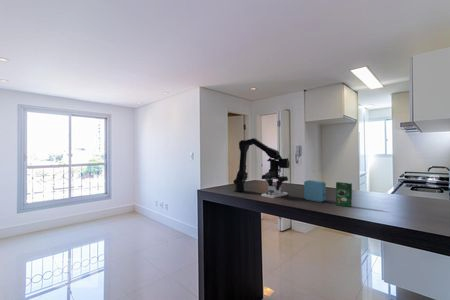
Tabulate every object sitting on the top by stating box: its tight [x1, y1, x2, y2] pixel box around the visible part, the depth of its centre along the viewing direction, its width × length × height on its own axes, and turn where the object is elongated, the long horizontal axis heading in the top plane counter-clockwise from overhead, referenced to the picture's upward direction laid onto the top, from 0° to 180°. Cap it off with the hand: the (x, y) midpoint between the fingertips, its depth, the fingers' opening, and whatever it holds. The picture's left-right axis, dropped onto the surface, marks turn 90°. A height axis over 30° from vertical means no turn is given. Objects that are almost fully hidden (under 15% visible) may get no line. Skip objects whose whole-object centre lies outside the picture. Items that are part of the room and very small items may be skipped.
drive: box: [267, 183, 282, 193], centre depth 158 cm, size 5×10×5 cm, turn 143°
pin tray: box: [261, 188, 289, 199], centre depth 158 cm, size 10×17×3 cm, turn 131°
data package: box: [303, 179, 327, 203], centre depth 141 cm, size 12×4×12 cm, turn 42°
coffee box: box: [335, 181, 353, 208], centre depth 126 cm, size 8×3×13 cm, turn 54°
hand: (274, 190), depth 158 cm, fingers closed on drive, 5 cm apart
